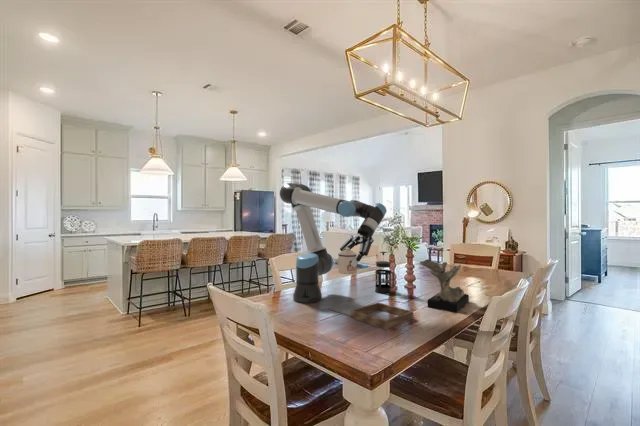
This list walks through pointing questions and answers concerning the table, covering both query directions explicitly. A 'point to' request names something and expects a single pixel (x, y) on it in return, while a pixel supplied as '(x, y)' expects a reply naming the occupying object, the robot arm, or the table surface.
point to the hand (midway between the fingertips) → (345, 264)
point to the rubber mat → (346, 308)
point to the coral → (446, 288)
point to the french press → (383, 287)
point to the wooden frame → (361, 315)
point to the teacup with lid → (347, 262)
